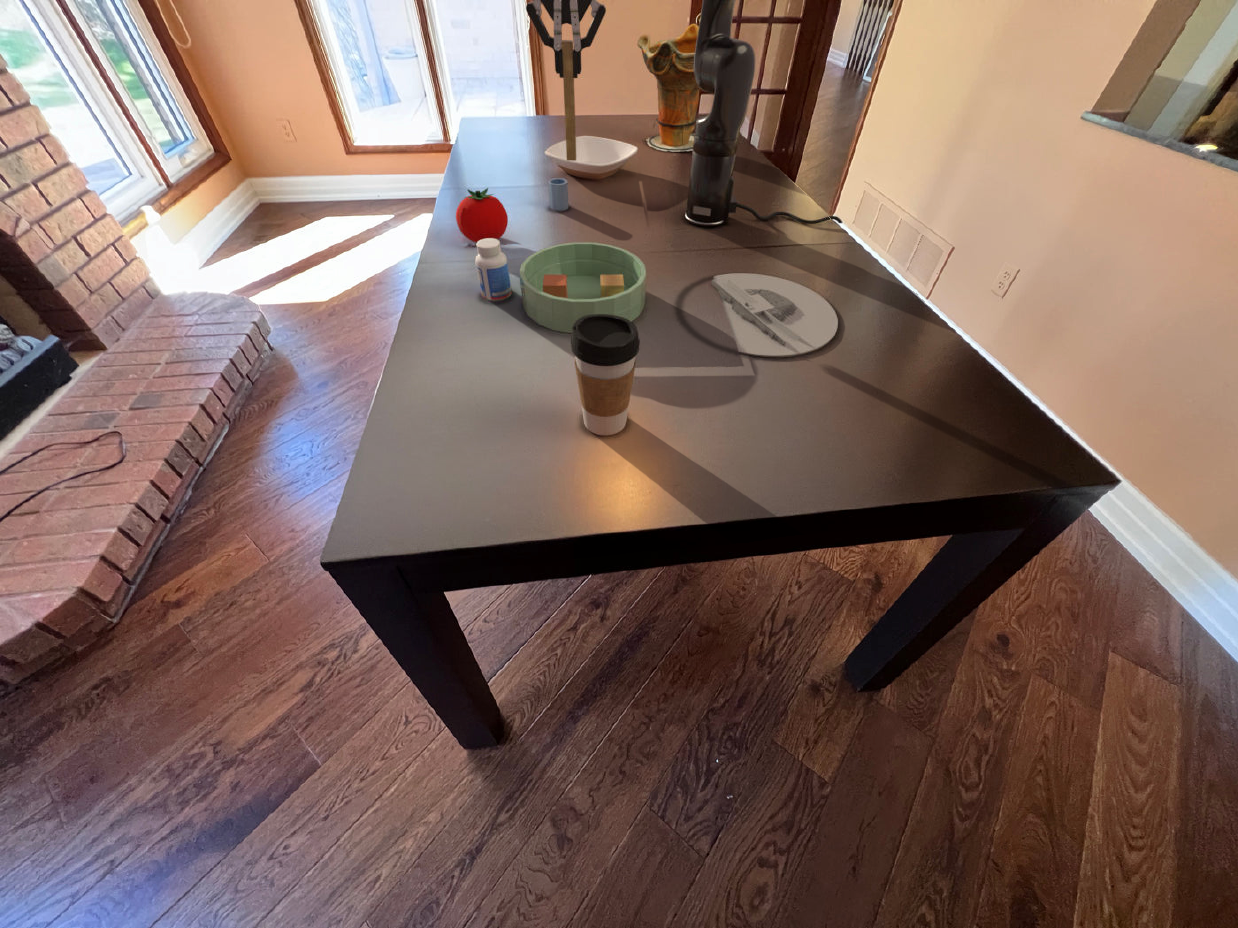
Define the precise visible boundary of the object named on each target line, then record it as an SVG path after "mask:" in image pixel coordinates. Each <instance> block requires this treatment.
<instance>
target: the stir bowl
mask: <svg viewBox="0 0 1238 928" xmlns="http://www.w3.org/2000/svg"><path fill="white" fill-rule="evenodd" d="M518 274H519V275H518V276H519V284H520V293H521V300H522V306H523V308H524V310H525V313H526V315H527V316H528V317H529V318H531V320H533V322H535V323H536V324H538V325H540V326H542V327H544V328H547V329H549V330H552V331H555V332H561V333H567V334H572V327H573V325H574V323H575V322H576V321H577V320H578V319H579V318H581V317H583V316H586V315H593V314H607V315H615V316H619V317H623V318H625V319H628V320H629V321H631V322H632V323H633V321H635V320H636V319H637V318H638V317H640V315H641V313H642V311H643V310H644V307H645V305H646V303H645V302H646V289H647V270H646V265H645V263H644V262H643V261H642V259H640V257H639V256H637V255H636V254H634V253H632V252H631V251H629V250H628V249H624V248H621V247H619V246H614V245H611V244H606V243H600V242H591V241H589V242H587V241H586V242H583V241H582V242H581V241H579V242H578V241H577V242H575V241H574V242H567V243H559V244H555V245H551V246H548V247H545V248H542V249H539V250H538V251H536V252H534V253H532V254H530V255H529V256H527V258H526V259H525V260H523V262H522V263H521V265H520V269H519V273H518ZM544 275H567V292H568V298H562V297H556V296H552V295H550V294H547V293H544V292H543V279H544ZM600 275H623V280H624V292H621V293H618V294H616V295H613V296H610V297H604V298H601V277H600Z"/></svg>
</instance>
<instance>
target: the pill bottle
mask: <svg viewBox="0 0 1238 928" xmlns="http://www.w3.org/2000/svg"><path fill="white" fill-rule="evenodd" d="M475 243H476V242H475ZM476 250H477V253H478V254H477V255H476V256H475V259H474V260H475V267H476V273H477V277H478V282H479V286H480V287H479V289H480V293H481V297H482V298H484V300H485V299H486V300H489V301H502V300H506V299H507V298H509V297H510V296H511V295H512V292H513V291H512V286H511V280H510V278H511V277H510V273H509V265H508V258H507V255H506V254H505V253H504V252H502V246H501V242H500V240H499V239H498V240H497V239H494V238H486V239H482V240H479V241H478V242H477V243H476Z"/></svg>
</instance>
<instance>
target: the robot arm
mask: <svg viewBox="0 0 1238 928" xmlns="http://www.w3.org/2000/svg"><path fill="white" fill-rule="evenodd" d="M736 1H737V0H702V4H701V10H700V16H699V17H700V18H699V23H698V26H699V29H698V36H697V42H696V49H695V56H694V77H695V81H696V84H697V86H698V87H699V88H700V89H699V90H701V91H703V92H705V93H708V94H710V95H713V100H712V105H711V109H710V111H709V113H704V114H702V115H700V116H698V118H696V123H695V124H694V144H693V151H692V152H691V153H692V155H691V163H690V172H689V182H688V192H687V199H686V207H685V215H684V218H685V220H686V221H687V222H688V223H689V224H691V225H694V226H698V227H704V228H705V227H707V228H713V227H718V226H721V225H728V221H729V214H735V213H736V211H737V208H739V209H742V210H745V211H747V212H749V213H750V214H752V215H753V216H754V217H755V218H756V219H757V220H759V221H768V220H770V219H771V218H773V217H776V216H785V217H788V218H790V219H792V220H795V221H796V222H799V223H802V224H806V225H814V224H815V225H816V224H820V223H823V222H827V221H829V220H830V218H831V220H834V221H835V222H837V223H838V224H843V220H842V219H841V218H840V217H838V216H836V215H829V217H830V218H829V217H828V216H825V217H822V218H818V219H813V220H811V219H810V220H809V219H803V218H801V217H799V216H797V215H794V214H792V213H789V212H787V211H774V212H772V213H770V214H768V215H766V216H761V215H760V214H759V213H758V212H757V211H756V210H755V209H754V208H752V207H749V206H748V205H745V204H741V203H738V201H737V199H736V197H735V195H733V190H734V185H735V178H734V176H733V175H734V167H735V162H736V157H737V150H738V143H739V137H740V133H741V132H740V131H741V128H742V126H743V124H744V122H745V120H746V116H747V114H748V113H747V112H748V107H749V103H750V99H751V93H752V89H753V85H754V79H755V73H756V53H755V50H754V48H753V46H752V45H751V43H749V42H748V41H745V40H742V39H738V38H734V37H732V26H733V25H732V24H733V17H734V11H735V5H736ZM542 6H543V7H544V10H545V11H546V12H547V14H548V15H549V17H550V19H551V20H552V22H553V36H551V35H550V33H549V31H548V29H547V26H546V24H545V23H544V21H543V19H542V17H541V15H542V14H543V10H542ZM590 7H591V11H590V16H591V18H592V21H591V23H590V25H589V28H588V30H587V32H586V35H585V36H583V37H581V36H582V35H581V21H582V20H583V18H584V17H585V14H586V13H587V11H588V9H589V8H590ZM525 10H526V13H527V15H528V17H529V18H530V21H531V23H532V24H533V27H534V28H535V30H536V32H537V34H538V36H539V38H540V40H541V42H542V44H543V46H545V47H548V48H551V49H552V50H553V53H554V71H555V73H556V74H557V75H559V78H560V79H563V78H564V76H563V52H562V40H563V25H565V24H568V25H571V31H572V32H571V33H572V40H573V78H574V79H578V77H579V76H578V75H581V72H582V51H583V50H584V49H586V48H590V47H591V46H592V44H593V42H594V40H595V37H596V35H597V33H598V31H599V28H600V26H601V23H602V21H603V20H604V17H605V14H606V12H607V8H606V5H605V4H603V3H600V2H599V1H598V0H532V1H529V2H528V3H527V4H526V5H525Z"/></svg>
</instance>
